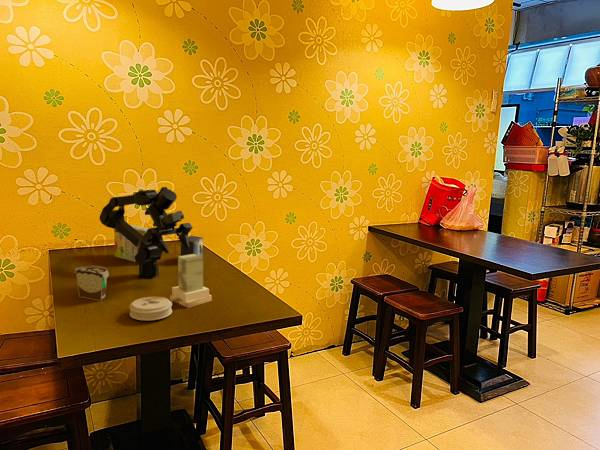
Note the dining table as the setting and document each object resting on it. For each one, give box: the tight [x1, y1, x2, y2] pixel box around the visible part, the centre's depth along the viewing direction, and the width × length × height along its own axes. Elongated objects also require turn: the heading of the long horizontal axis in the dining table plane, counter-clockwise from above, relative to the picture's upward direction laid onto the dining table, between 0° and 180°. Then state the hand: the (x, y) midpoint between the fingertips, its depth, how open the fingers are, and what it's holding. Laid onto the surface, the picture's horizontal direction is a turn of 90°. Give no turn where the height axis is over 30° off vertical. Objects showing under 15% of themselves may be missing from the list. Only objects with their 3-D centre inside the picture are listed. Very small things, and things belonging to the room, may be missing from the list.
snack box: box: [113, 224, 148, 264], centre depth 202 cm, size 21×6×15 cm, turn 58°
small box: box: [180, 235, 204, 259], centre depth 204 cm, size 11×6×10 cm, turn 168°
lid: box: [129, 295, 173, 321], centre depth 142 cm, size 13×13×5 cm
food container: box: [74, 265, 110, 302], centre depth 155 cm, size 12×6×10 cm, turn 71°
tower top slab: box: [171, 285, 210, 302], centre depth 156 cm, size 9×9×2 cm
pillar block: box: [177, 254, 204, 292], centre depth 154 cm, size 6×6×11 cm
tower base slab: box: [169, 294, 213, 309], centre depth 156 cm, size 10×10×2 cm
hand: (178, 250), depth 168 cm, fingers open, 9 cm apart
